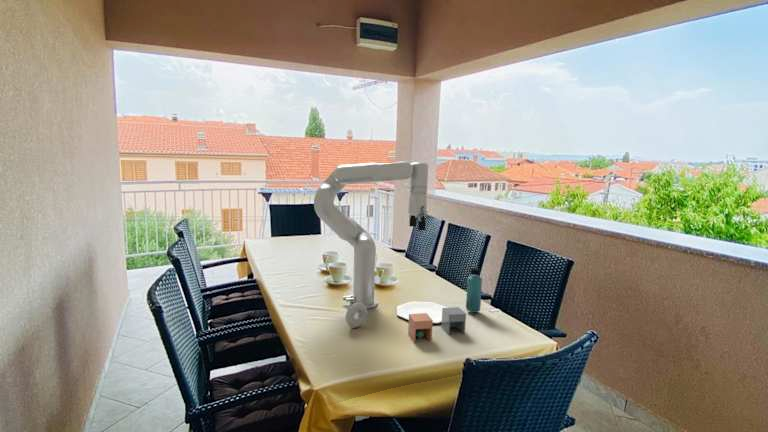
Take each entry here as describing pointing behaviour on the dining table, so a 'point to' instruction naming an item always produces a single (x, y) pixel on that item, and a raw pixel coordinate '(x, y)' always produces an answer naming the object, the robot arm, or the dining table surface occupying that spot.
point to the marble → (419, 333)
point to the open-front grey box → (453, 319)
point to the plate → (421, 310)
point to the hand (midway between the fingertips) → (417, 228)
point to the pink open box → (420, 325)
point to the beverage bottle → (474, 291)
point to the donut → (351, 314)
